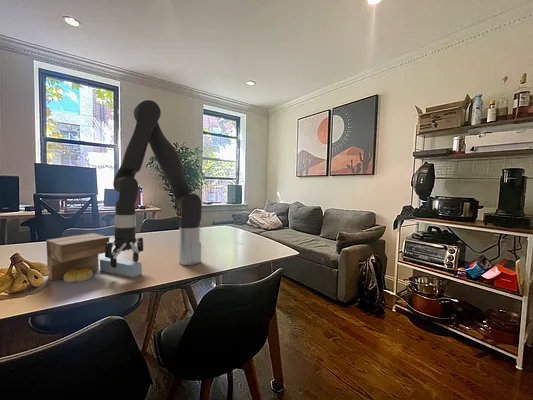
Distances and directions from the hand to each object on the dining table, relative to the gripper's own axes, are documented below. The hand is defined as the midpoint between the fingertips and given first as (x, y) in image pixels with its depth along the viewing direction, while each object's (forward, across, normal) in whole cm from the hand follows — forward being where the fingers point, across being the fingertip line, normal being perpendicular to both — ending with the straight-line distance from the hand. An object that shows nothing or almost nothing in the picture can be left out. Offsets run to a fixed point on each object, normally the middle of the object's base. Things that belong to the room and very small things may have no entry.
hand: (125, 264), depth 102 cm
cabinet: (+4, -11, +13) cm, 17 cm away
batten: (+4, 0, +4) cm, 6 cm away
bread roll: (+5, -12, +10) cm, 17 cm away
